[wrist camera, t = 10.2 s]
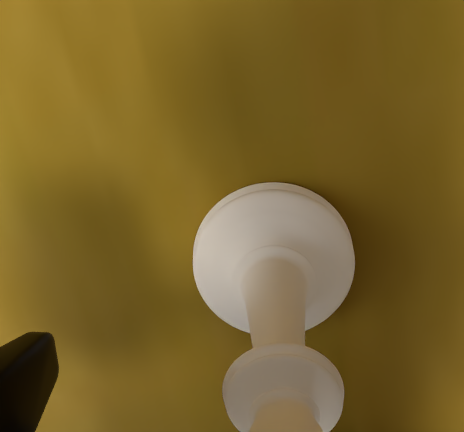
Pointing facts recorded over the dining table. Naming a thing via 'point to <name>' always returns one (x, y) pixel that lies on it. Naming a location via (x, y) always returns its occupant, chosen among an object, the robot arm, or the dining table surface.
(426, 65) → the dining table surface
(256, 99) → the dining table surface
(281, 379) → the chess piece
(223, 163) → the dining table surface
